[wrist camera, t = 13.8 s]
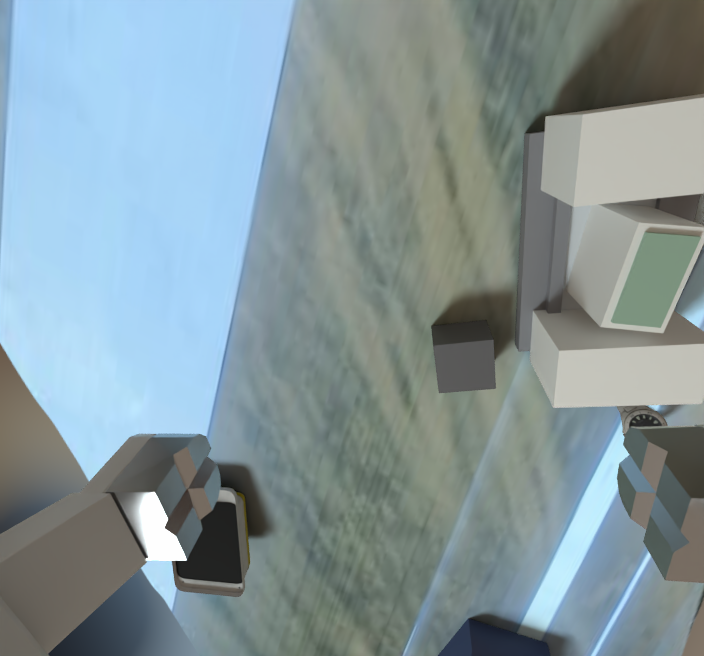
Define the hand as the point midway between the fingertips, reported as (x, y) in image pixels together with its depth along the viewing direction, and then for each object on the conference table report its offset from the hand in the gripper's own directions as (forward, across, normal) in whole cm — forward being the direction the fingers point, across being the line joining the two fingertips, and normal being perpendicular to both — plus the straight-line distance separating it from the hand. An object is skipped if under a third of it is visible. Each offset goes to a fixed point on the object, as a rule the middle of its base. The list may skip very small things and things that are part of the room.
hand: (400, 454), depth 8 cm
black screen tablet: (+25, +29, +46) cm, 59 cm away
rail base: (+29, -15, +5) cm, 33 cm away
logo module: (+27, -15, +5) cm, 32 cm away
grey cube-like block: (+29, -4, +14) cm, 33 cm away
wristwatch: (+29, -20, +22) cm, 42 cm away
